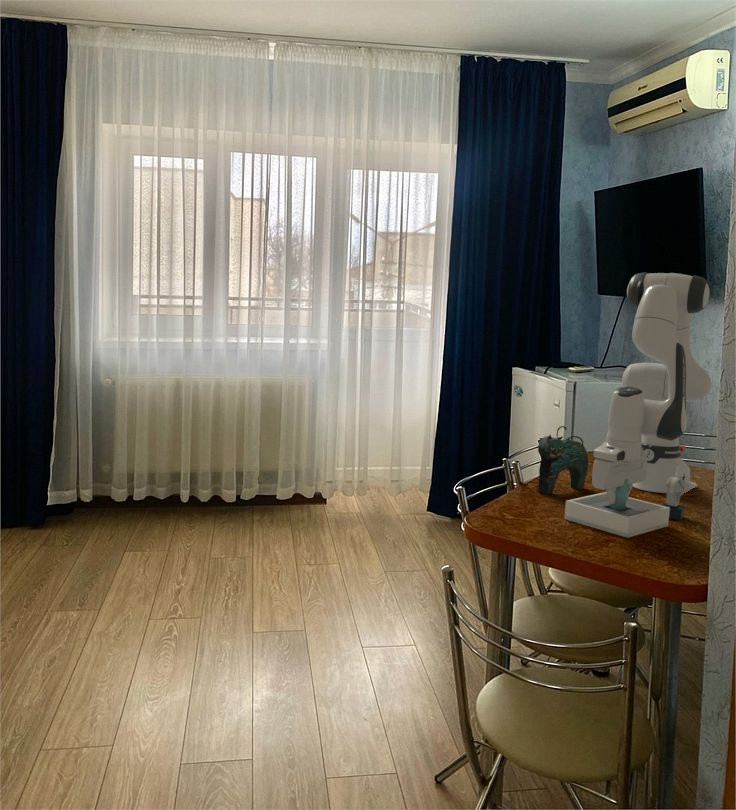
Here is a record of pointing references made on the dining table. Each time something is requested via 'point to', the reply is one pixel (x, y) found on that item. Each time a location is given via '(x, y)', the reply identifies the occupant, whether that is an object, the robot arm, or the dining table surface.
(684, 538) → the dining table surface
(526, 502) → the dining table surface
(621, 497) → the peg
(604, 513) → the open box
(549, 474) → the ceramic cat
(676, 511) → the watch
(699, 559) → the dining table surface
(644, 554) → the dining table surface
